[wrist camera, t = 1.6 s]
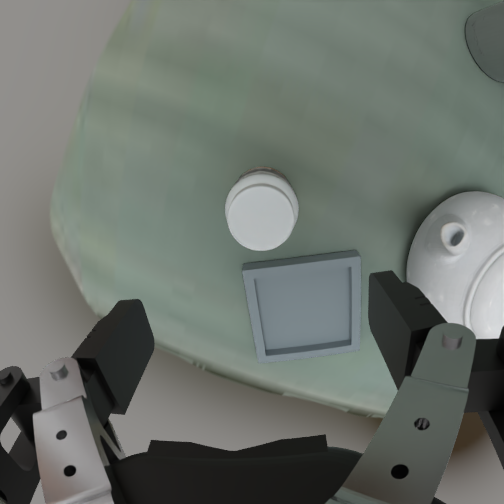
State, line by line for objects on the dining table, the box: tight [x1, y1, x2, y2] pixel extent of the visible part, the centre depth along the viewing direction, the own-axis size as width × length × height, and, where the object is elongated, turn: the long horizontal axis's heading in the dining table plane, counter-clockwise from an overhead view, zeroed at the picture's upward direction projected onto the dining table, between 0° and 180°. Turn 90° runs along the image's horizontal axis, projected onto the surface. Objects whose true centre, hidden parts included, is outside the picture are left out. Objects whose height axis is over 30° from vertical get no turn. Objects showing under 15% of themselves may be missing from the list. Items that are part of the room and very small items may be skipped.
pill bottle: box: [225, 167, 299, 251], centre depth 27 cm, size 6×6×10 cm
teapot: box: [406, 191, 504, 339], centre depth 27 cm, size 19×18×14 cm
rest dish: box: [242, 250, 361, 363], centre depth 35 cm, size 12×12×2 cm
